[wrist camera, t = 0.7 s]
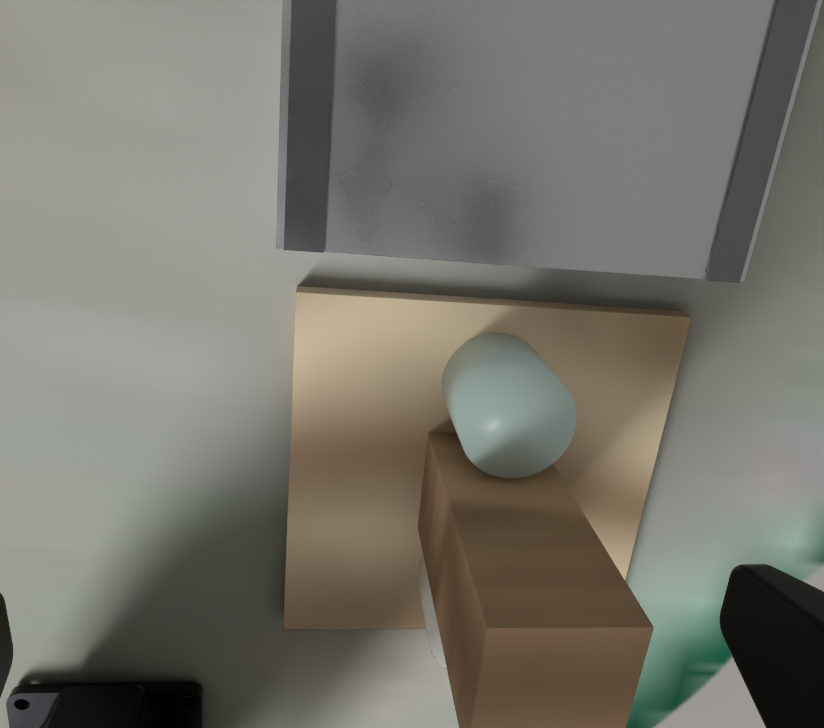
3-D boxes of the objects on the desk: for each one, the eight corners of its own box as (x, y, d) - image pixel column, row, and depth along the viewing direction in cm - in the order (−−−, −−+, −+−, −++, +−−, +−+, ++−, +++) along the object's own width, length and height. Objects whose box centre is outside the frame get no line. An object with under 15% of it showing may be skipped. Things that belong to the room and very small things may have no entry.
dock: (707, 265, 21) (746, 283, 19) (280, 233, 19) (275, 249, 17) (842, -262, 16) (911, -310, 15) (298, -371, 15) (294, -442, 13)
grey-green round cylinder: (534, 430, 22) (565, 479, 19) (435, 427, 21) (452, 476, 19) (551, 335, 21) (586, 373, 18) (447, 330, 20) (467, 367, 17)
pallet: (601, 605, 26) (742, 869, 17) (285, 605, 25) (260, 897, 16) (673, 306, 22) (910, 450, 13) (297, 281, 20) (274, 427, 11)
